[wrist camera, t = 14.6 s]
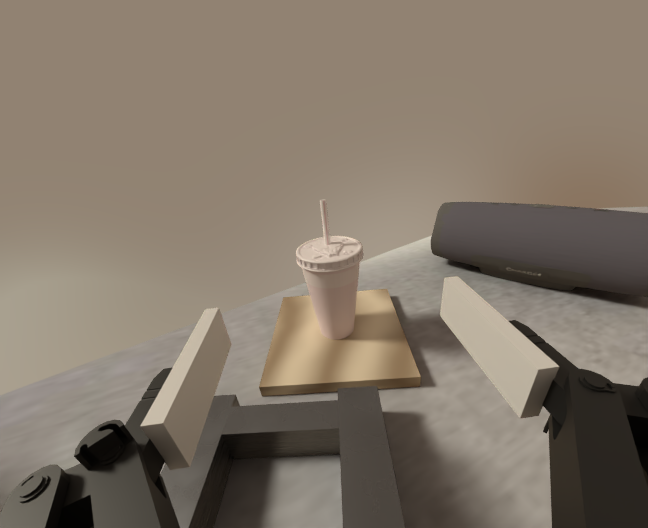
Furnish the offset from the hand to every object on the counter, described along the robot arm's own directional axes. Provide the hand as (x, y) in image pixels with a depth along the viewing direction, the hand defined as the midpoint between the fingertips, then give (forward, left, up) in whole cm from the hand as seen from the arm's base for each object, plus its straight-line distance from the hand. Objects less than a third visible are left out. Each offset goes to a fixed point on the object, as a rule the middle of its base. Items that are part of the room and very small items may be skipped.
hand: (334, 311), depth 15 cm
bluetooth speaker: (+26, +19, -11) cm, 34 cm away
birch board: (0, +10, -11) cm, 15 cm away
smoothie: (0, +10, -10) cm, 14 cm away
